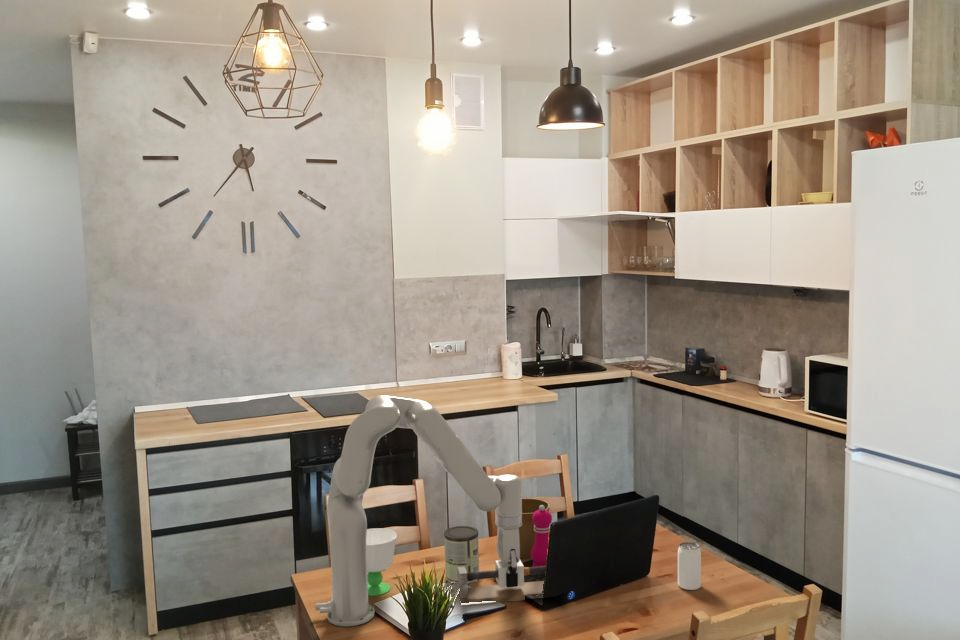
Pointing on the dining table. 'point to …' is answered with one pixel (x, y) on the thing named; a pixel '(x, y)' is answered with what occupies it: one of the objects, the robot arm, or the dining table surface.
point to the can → (689, 566)
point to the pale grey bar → (497, 586)
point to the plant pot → (529, 525)
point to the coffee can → (461, 551)
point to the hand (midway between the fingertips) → (509, 581)
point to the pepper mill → (540, 536)
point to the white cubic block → (503, 570)
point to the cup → (379, 558)
